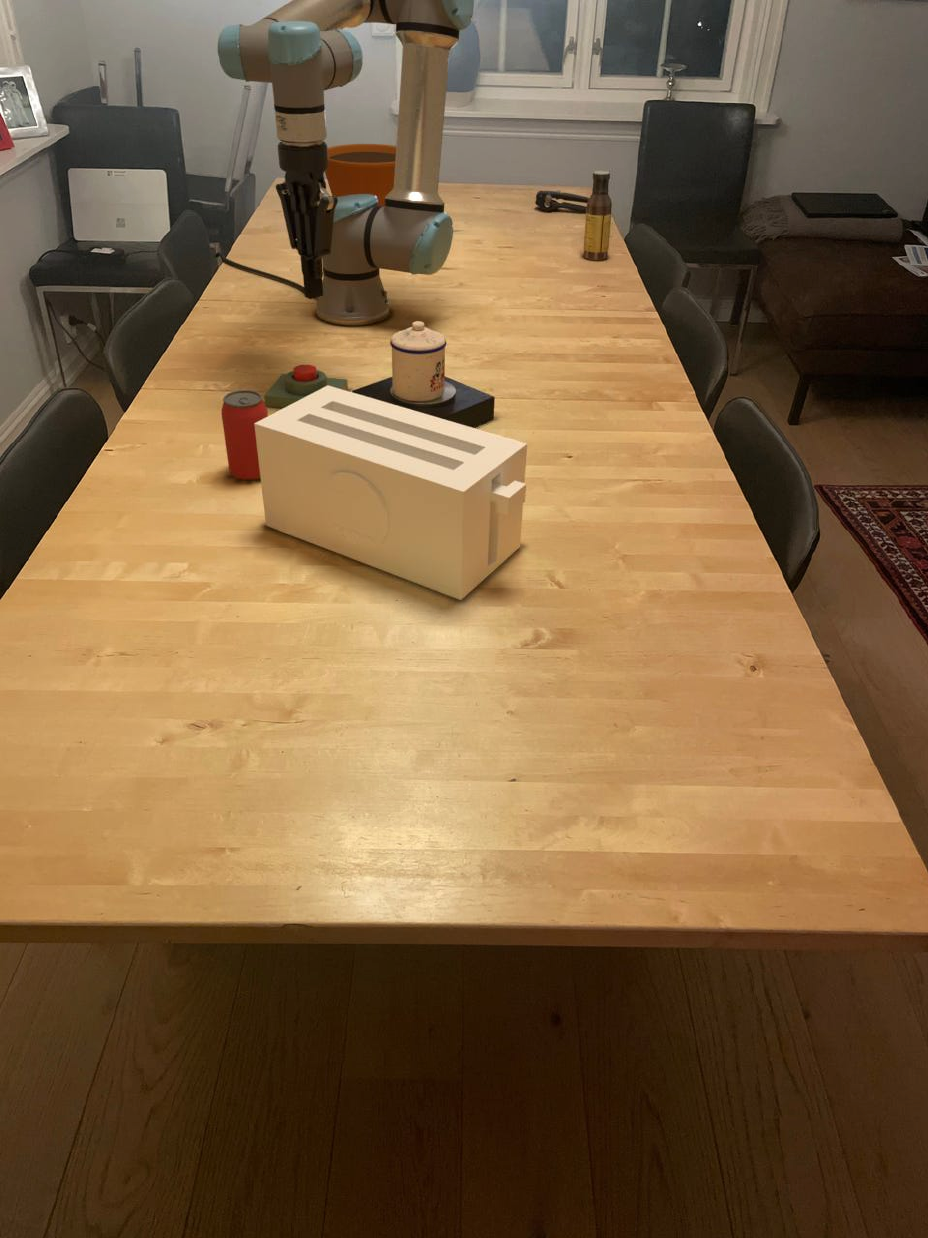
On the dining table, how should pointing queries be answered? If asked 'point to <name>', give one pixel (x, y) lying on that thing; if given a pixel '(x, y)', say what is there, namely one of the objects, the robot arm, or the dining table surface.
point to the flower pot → (361, 170)
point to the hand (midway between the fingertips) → (314, 295)
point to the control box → (298, 389)
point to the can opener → (548, 204)
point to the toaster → (393, 487)
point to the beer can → (242, 432)
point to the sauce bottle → (598, 218)
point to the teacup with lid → (418, 363)
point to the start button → (305, 373)
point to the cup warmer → (440, 402)
